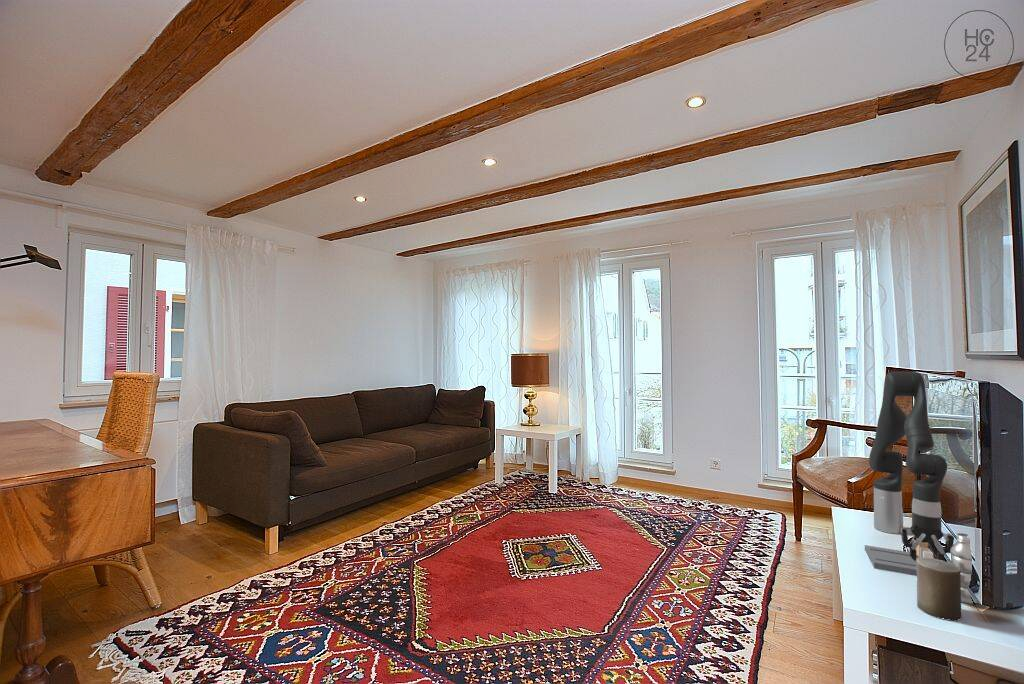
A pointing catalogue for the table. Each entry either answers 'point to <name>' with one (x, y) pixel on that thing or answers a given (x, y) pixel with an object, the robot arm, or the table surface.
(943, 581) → the pillar candle
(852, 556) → the table surface
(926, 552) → the cream fader
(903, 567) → the fader panel
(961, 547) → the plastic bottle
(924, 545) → the block
